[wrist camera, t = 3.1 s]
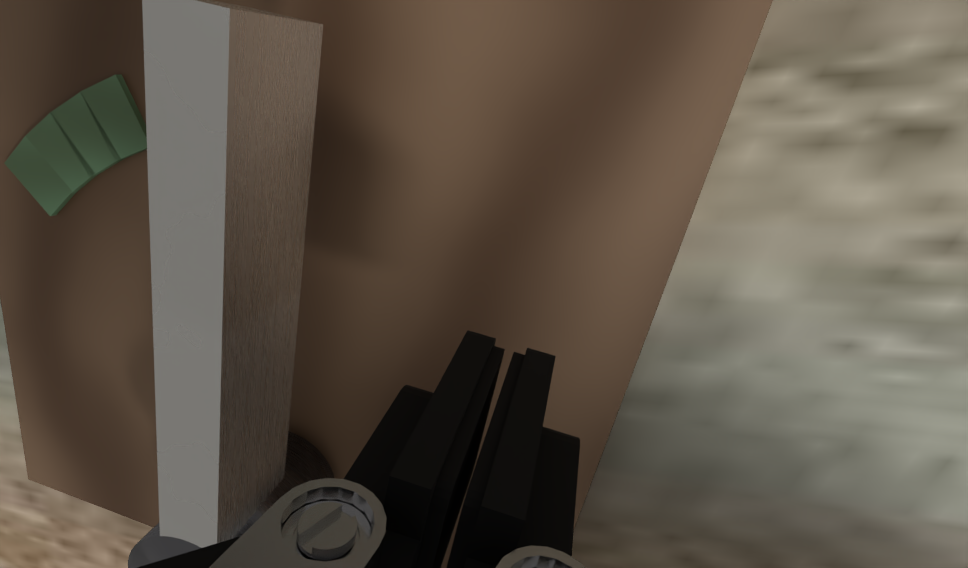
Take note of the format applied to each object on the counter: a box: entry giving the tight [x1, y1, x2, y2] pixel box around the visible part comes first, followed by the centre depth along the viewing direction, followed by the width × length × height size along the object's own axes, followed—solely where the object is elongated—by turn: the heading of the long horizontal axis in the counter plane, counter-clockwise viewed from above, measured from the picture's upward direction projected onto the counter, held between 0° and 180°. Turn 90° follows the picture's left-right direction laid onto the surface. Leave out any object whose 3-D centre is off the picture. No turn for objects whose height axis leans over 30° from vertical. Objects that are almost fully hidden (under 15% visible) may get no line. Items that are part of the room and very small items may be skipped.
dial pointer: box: [128, 0, 334, 568], centre depth 14 cm, size 18×4×5 cm, turn 168°
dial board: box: [0, 0, 773, 568], centre depth 17 cm, size 21×23×2 cm
